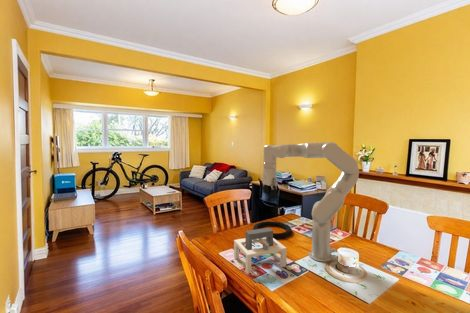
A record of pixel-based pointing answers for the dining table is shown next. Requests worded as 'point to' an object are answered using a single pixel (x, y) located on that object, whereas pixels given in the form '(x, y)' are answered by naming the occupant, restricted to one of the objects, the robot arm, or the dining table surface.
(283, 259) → the cream frame with rod
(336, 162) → the robot arm
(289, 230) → the cable lock
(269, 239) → the grey piece
